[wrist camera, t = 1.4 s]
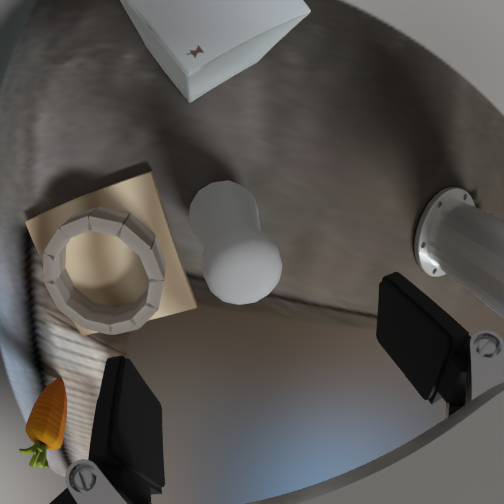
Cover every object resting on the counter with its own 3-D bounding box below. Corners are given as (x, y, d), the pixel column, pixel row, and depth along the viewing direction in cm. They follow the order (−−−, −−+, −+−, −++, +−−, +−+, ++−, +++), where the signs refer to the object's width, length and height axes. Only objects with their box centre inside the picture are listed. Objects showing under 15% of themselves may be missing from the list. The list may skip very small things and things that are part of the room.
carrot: (57, 390, 32) (35, 475, 18) (39, 367, 30) (8, 454, 16) (82, 389, 32) (64, 480, 19) (65, 365, 30) (37, 460, 17)
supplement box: (260, 62, 22) (318, 15, 10) (188, 105, 22) (184, 82, 11) (215, 3, 18) (237, -76, 7) (143, 44, 19) (107, -17, 8)
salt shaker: (180, 188, 25) (169, 245, 13) (241, 167, 25) (285, 204, 14) (202, 245, 28) (212, 335, 16) (259, 225, 28) (309, 301, 16)
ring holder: (152, 170, 24) (145, 178, 20) (196, 302, 30) (198, 325, 26) (29, 218, 23) (10, 232, 19) (84, 330, 29) (75, 353, 25)
